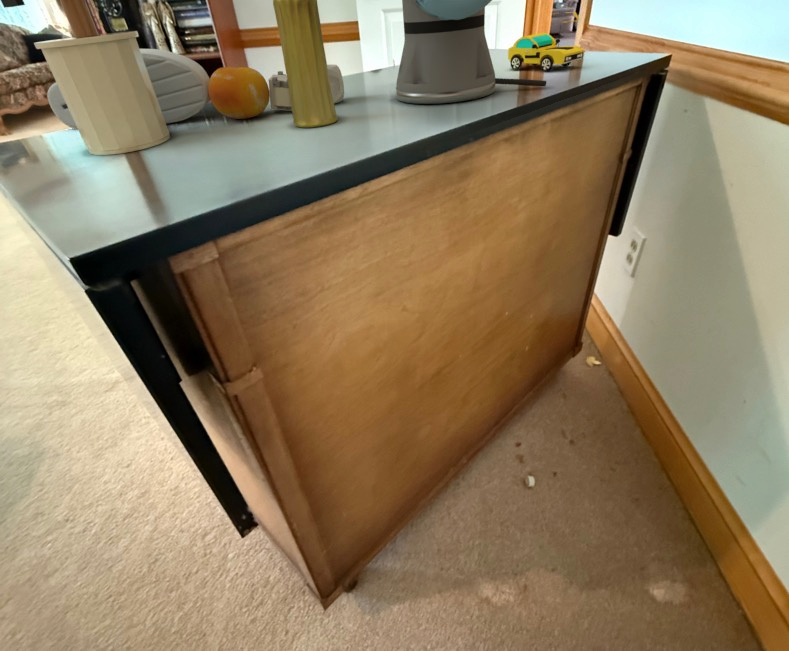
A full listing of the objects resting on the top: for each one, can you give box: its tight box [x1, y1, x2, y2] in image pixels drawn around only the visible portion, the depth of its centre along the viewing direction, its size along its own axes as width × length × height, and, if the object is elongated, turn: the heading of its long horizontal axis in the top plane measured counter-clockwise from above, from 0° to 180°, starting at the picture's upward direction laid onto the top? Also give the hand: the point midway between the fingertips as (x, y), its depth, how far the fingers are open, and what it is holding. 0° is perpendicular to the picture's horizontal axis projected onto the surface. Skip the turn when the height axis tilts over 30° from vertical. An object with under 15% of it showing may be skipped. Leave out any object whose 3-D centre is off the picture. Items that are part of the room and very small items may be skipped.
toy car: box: [507, 11, 585, 73], centre depth 82 cm, size 12×8×8 cm, turn 40°
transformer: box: [268, 70, 292, 112], centre depth 78 cm, size 6×20×5 cm
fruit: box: [208, 66, 270, 120], centre depth 70 cm, size 8×8×8 cm
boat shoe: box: [46, 48, 211, 130], centre depth 75 cm, size 10×29×10 cm
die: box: [327, 64, 345, 104], centre depth 74 cm, size 5×5×5 cm
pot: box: [40, 37, 171, 156], centre depth 60 cm, size 10×10×12 cm
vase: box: [272, 0, 339, 129], centre depth 60 cm, size 6×6×14 cm
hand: (74, 2), depth 55 cm, fingers open, 13 cm apart
